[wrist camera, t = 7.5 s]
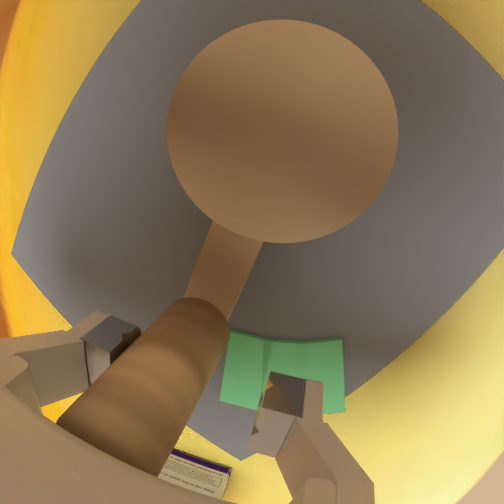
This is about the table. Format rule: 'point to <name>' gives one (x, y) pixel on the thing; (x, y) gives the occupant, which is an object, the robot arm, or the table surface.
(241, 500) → the table surface
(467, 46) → the flat gray board
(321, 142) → the tan wooden handled piece
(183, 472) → the supplement box
